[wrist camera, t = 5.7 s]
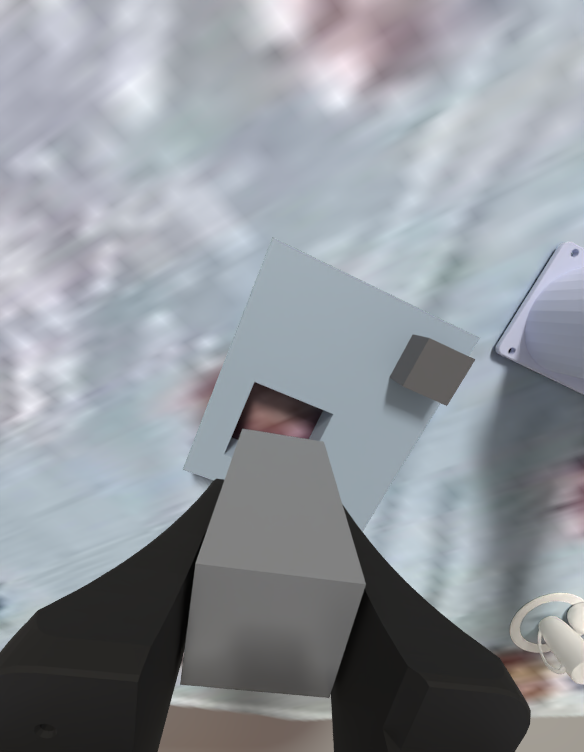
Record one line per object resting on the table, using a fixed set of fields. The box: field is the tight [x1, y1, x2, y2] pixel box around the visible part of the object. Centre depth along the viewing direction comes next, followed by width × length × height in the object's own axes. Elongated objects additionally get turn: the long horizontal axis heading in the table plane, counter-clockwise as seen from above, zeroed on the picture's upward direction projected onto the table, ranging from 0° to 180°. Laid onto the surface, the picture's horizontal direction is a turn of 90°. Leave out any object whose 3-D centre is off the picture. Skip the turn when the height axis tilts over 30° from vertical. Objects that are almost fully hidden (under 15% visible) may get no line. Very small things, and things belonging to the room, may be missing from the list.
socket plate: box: [183, 237, 480, 532], centre depth 18 cm, size 14×16×4 cm
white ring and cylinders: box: [510, 593, 584, 684], centre depth 25 cm, size 9×8×4 cm
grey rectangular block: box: [180, 429, 366, 698], centre depth 10 cm, size 4×4×7 cm
